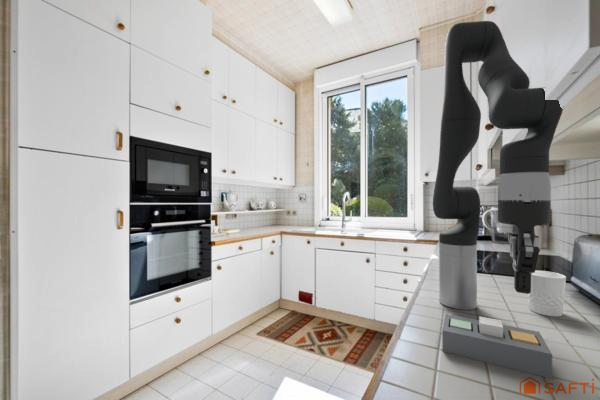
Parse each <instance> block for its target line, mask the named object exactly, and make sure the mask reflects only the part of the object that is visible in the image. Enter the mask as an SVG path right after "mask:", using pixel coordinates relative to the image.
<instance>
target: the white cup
mask: <svg viewBox="0 0 600 400" xmlns="http://www.w3.org/2000/svg"><path fill="white" fill-rule="evenodd" d="M566 280H567V276H566V275H564V274H562V273H558V272H553V271H548V270H535V272H533V273H532V274H531V293H529V294H527V300H528V301H527V303H528V309H529V310H530V311H532V312H533V313H535V314H539V315H542V316H547V317H562V316H564V305H565V297H566Z"/></svg>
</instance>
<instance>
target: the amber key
mask: <svg viewBox="0 0 600 400" xmlns="http://www.w3.org/2000/svg"><path fill="white" fill-rule="evenodd" d="M510 338H511V340H515V341H519V342H524V343H529V344H534V345H539V343H538V341H537V339H536V337H535V335H533V334H528V333H523V332H518V331H513V330H510Z"/></svg>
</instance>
